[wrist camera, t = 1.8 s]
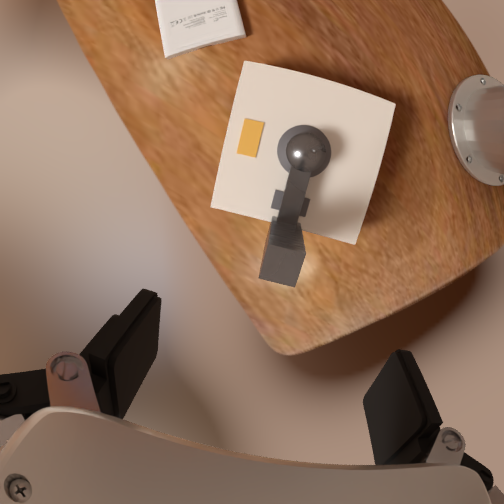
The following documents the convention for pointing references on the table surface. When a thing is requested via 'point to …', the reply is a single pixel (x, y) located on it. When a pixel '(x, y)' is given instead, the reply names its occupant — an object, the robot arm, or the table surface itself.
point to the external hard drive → (197, 24)
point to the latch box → (288, 125)
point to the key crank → (291, 213)
